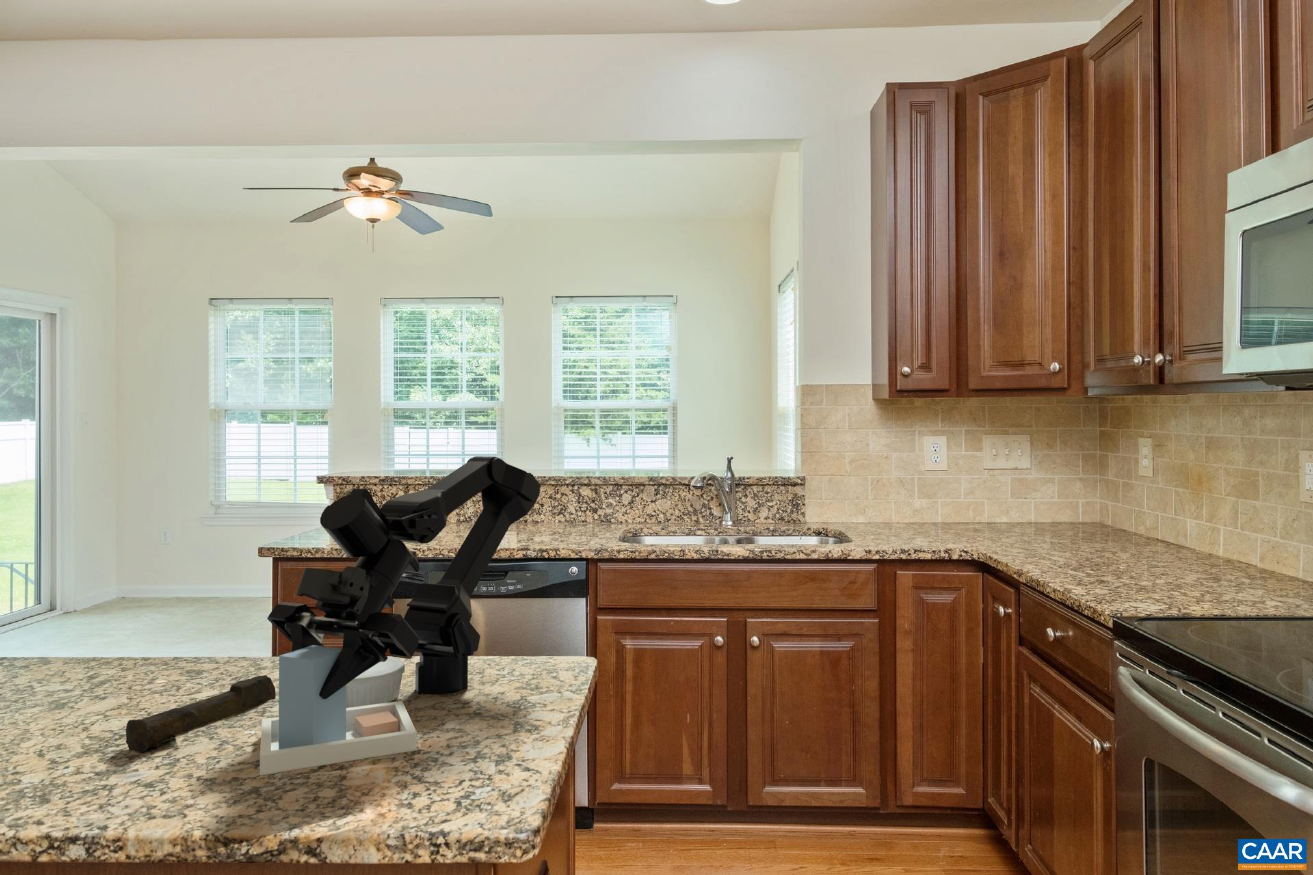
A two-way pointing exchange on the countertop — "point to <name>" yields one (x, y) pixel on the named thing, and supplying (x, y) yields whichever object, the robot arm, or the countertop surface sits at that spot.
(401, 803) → the countertop surface
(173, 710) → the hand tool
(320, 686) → the blue block
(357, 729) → the terracotta tile
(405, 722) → the tray
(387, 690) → the ramekin
